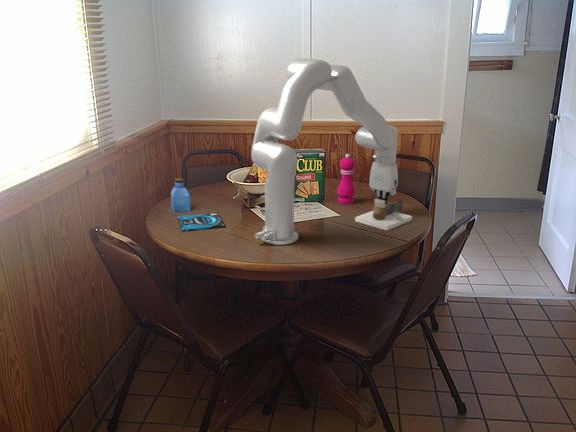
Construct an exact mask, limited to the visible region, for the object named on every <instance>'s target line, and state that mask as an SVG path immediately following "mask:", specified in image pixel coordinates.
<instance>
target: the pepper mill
mask: <svg viewBox="0 0 576 432" xmlns="http://www.w3.org/2000/svg"><path fill="white" fill-rule="evenodd" d="M355 166H356V164H355V159H354V158H351V155H350V154H349V153H346V154H345V157H343V158H341V159H340V162H339V168H340V174H341V179H340V180H341V181H340V183H339V185H338V186H337V192H336V193H337V195H338V197H337V202H338V204H340V205H351V204H353V203H354V196H355V194H356V189H355V185H354V184H353V179H352V177H353V174H354V168H355Z"/></svg>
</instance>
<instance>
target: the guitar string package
mask: <svg viewBox="0 0 576 432" xmlns="http://www.w3.org/2000/svg"><path fill="white" fill-rule="evenodd" d="M177 220H178V221H177V222H178V223H179V226H180V229H181V231H182V232H183V233H184V232H192V231H203V230H204V231H205V230H213V229H223V228H225V229H226V228H227V227H226V224H225V223H224V221H223V219H222V218H221V216H220V214H219V212H209V213H201V214H199V213H198V214H187V215H178V216H177Z"/></svg>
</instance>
